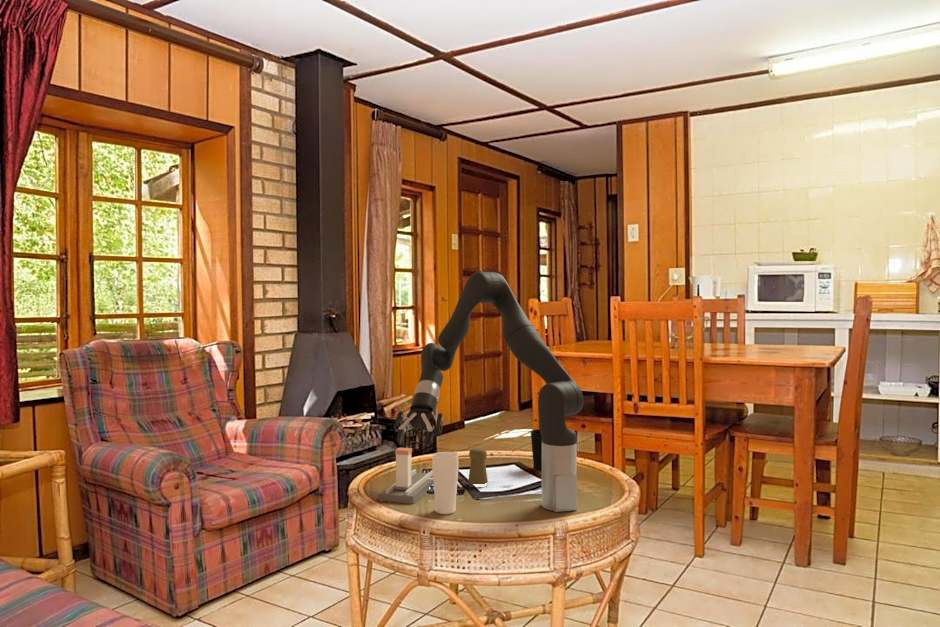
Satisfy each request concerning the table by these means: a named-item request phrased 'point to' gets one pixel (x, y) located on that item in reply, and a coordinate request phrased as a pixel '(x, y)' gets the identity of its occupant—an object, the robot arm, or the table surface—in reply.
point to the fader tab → (403, 468)
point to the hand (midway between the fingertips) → (413, 444)
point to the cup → (537, 449)
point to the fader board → (413, 493)
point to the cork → (478, 466)
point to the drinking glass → (445, 481)
